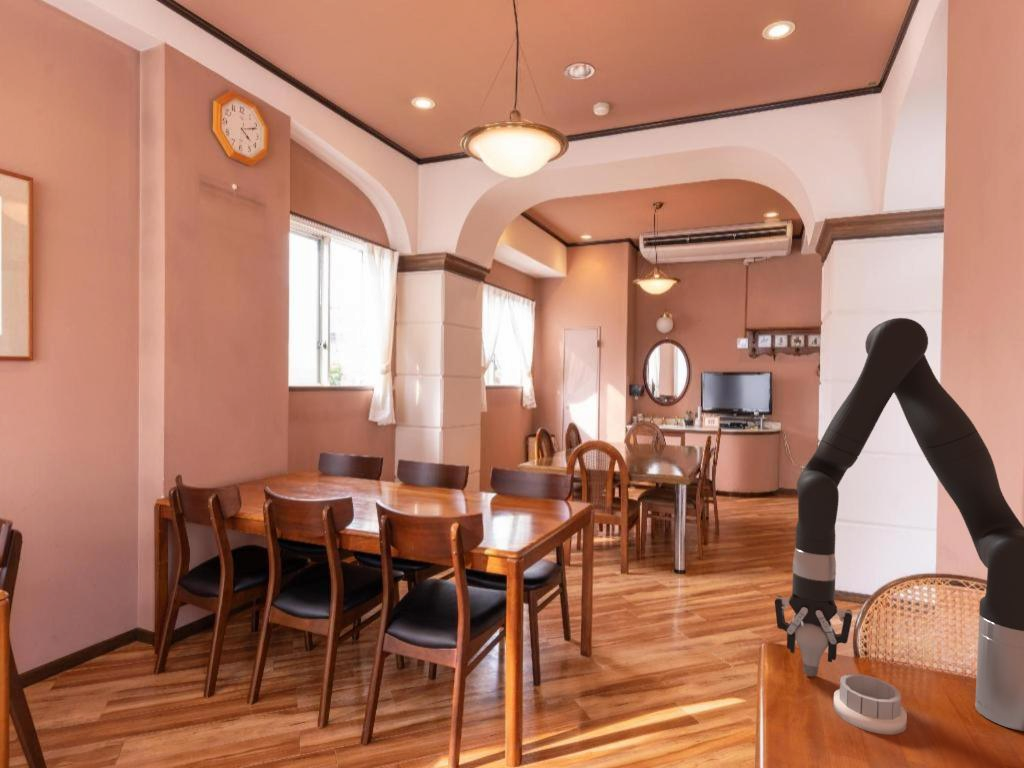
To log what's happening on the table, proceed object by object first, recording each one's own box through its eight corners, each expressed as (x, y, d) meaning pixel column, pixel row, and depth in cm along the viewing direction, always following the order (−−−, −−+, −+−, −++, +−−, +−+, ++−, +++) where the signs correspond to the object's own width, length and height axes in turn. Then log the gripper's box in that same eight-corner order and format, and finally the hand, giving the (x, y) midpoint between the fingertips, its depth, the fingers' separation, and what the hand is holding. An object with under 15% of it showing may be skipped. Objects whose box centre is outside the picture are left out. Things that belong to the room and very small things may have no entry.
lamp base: (881, 698, 109) (882, 672, 109) (921, 735, 98) (922, 706, 98) (821, 696, 109) (822, 670, 109) (854, 733, 98) (855, 703, 98)
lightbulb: (832, 686, 113) (834, 629, 113) (798, 682, 114) (800, 626, 114) (822, 670, 119) (824, 616, 119) (789, 666, 120) (791, 613, 120)
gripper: (856, 574, 116) (853, 658, 116) (776, 560, 123) (774, 639, 124) (855, 585, 109) (852, 674, 110) (771, 570, 117) (769, 653, 117)
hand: (810, 655), depth 117 cm, fingers closed on lightbulb, 6 cm apart
